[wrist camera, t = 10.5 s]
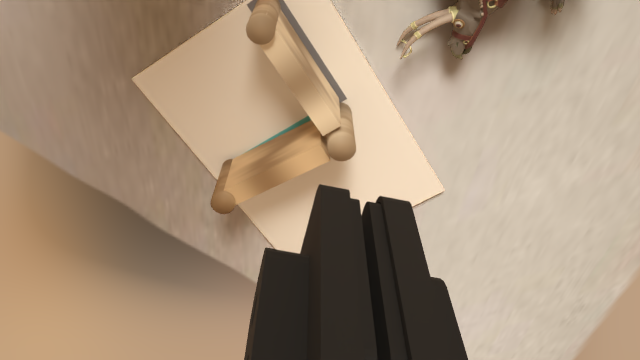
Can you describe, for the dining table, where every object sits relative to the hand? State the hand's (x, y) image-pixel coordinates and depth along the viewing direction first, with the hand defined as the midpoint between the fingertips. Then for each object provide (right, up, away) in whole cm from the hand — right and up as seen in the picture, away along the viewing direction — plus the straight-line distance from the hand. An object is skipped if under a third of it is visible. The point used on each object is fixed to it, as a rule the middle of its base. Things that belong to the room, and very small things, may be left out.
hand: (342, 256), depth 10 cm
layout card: (-2, +5, +34) cm, 35 cm away
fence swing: (-4, +4, +34) cm, 35 cm away
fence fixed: (-1, +10, +31) cm, 33 cm away
